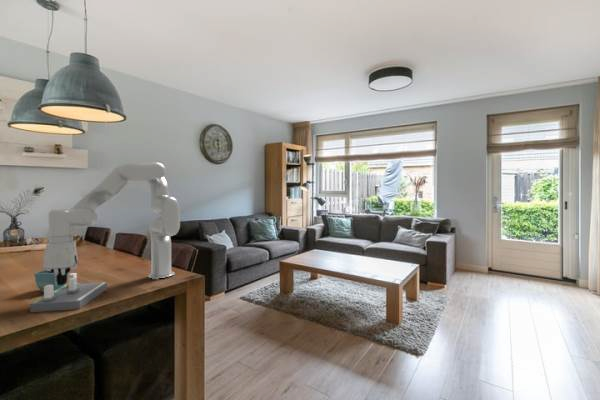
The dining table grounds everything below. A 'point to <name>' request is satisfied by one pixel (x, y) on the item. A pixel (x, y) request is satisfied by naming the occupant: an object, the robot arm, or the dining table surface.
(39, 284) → the flower pot
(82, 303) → the grey flat block
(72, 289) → the middle breaker
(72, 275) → the cylinder
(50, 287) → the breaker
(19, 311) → the dining table surface
